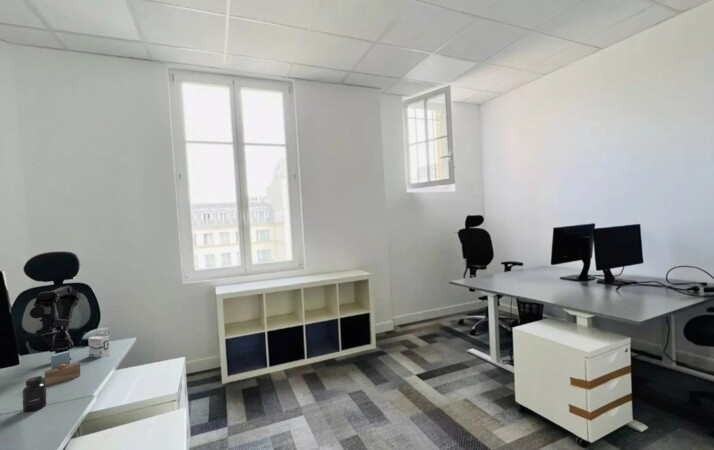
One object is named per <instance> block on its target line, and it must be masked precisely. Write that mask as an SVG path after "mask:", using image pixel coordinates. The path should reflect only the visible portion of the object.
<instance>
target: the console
mask: <svg viewBox="0 0 714 450" xmlns="http://www.w3.org/2000/svg"><path fill="white" fill-rule="evenodd" d="M43 372H44V377H43V383H45V384H46V387H48V386H51V385H55V384H59V383H61V382H65V381H68V380H72V379H75V378H78V377H81V363H80V362H79V361H75V362H73V363H70V364H69V365H66V364H61V365H59V367H58V368H54V369H51V368H50V369H47V370H45V371H43Z"/></svg>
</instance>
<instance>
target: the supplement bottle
mask: <svg viewBox="0 0 714 450" xmlns="http://www.w3.org/2000/svg"><path fill="white" fill-rule="evenodd" d="M43 378H44V377H43V376H42V375H38V376H32V377H29V378H27V379H26V380H25V387H24V388H23V389H22V412H24V413H33V412H36V411H39V410H41V409H43V408H44V407H46V405H47V386H46V384H45V383H44V380H43Z"/></svg>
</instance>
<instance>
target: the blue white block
mask: <svg viewBox="0 0 714 450" xmlns="http://www.w3.org/2000/svg"><path fill="white" fill-rule="evenodd" d="M70 355H71V354H70V350H69V351H65V352H61V353H57V354H55V353H54V354H53V353H52V354H51V355H50V369H54V368H58V367H59V365H61V364H66V365H69V364H71V360H70V358H71V356H70Z"/></svg>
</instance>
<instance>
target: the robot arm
mask: <svg viewBox="0 0 714 450" xmlns="http://www.w3.org/2000/svg"><path fill="white" fill-rule="evenodd" d="M58 301H60V302H59V303H60V304H61V306H62V309H61V314H60V316H58V315H57V311H56V306H57V304H56V303H58ZM80 301H81V294H80V291H78V290H76V289H74V288H73V287H72V286H71V285H67V286H61V287H60V286H59V288H56V289H53V290H51V291H41V292H39V294H38V295H37V296H36V299H35V302H34V304H33V306H34V307H33V308H32V309H31V310H30V311H29V316H30V317H31V318H33V319H39V322H40V323H41V327H40V328H39V329H37V330H36V331H35V333H34V335H35V337H37V336H40V337H41V338H42V339H43V341H44V342H45V343H46V344H47V345H48V349H49V352H50V353H54V354H57V353H61V352H65V351H69V352H70V350H72V349H74V342H73V340H72V339H71V338H72V337H71V336H70V334H69V329H70V326H71V323H73V320H72V316H73V312H74V309H75V307H76V306H78V305H79V302H80ZM71 360H72V358H71V357H70V361H71Z"/></svg>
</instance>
